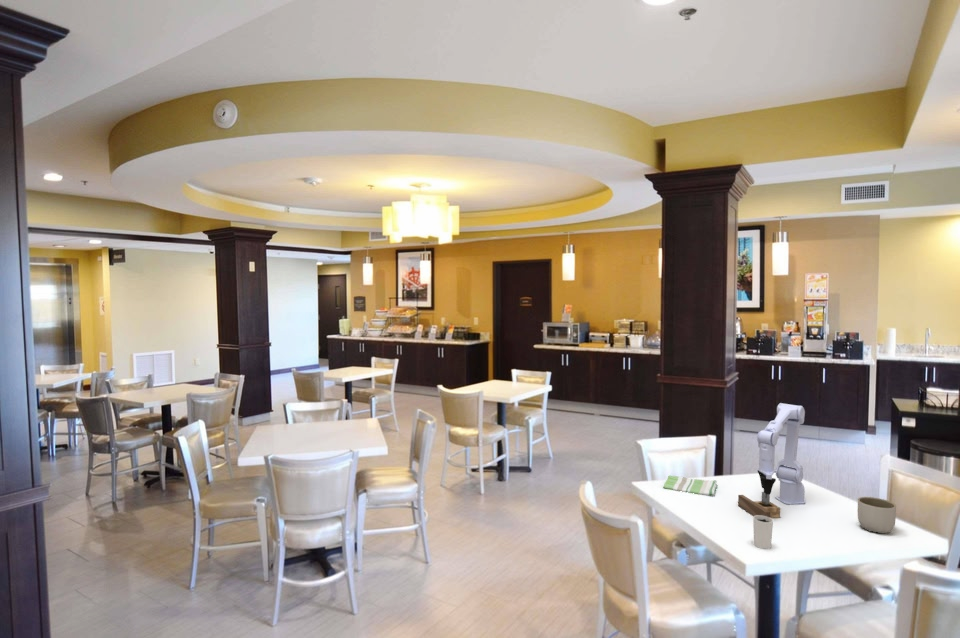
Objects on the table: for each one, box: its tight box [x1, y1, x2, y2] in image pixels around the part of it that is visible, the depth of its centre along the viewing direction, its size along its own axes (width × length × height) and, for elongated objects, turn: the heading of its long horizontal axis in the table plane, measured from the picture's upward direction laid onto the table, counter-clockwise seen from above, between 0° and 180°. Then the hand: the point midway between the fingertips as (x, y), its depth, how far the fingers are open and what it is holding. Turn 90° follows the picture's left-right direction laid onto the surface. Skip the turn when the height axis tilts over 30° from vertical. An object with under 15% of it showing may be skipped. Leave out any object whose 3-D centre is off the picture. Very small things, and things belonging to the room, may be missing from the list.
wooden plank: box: [737, 494, 770, 517], centre depth 237 cm, size 2×20×5 cm, turn 5°
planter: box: [857, 496, 897, 534], centre depth 223 cm, size 12×12×11 cm
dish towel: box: [662, 474, 719, 497], centre depth 271 cm, size 17×23×4 cm
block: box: [752, 500, 781, 519], centre depth 237 cm, size 8×8×4 cm
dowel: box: [761, 491, 771, 507], centre depth 237 cm, size 3×3×8 cm
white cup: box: [752, 515, 774, 550], centre depth 208 cm, size 7×7×10 cm
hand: (765, 490), depth 237 cm, fingers open, 7 cm apart
